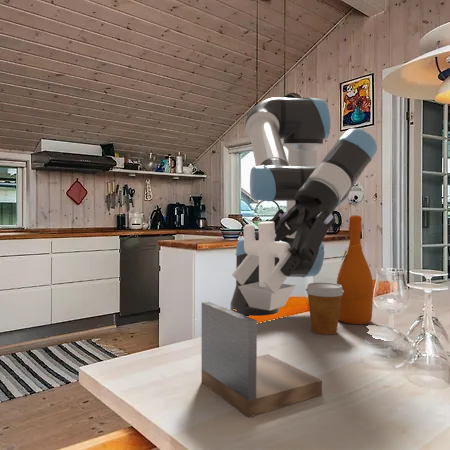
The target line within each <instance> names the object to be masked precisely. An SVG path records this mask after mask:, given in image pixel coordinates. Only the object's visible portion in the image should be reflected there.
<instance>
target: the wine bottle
mask: <svg viewBox="0 0 450 450" xmlns="http://www.w3.org/2000/svg"><path fill="white" fill-rule="evenodd" d="M348 220H349V221H348V231H349V233H350V236H349V243H348V244H349V245H348V247H347V248H345V249H344V254H343V256H342V259H341V261H342V263H341V265H340V266H339V267H340V268H339V271H338V273H337V279H336V284H339V285H341V286H342V289H343V291H344V292H343V295H342V298H341V305H340V312H339V319H338V321H340V322H341V323H342V322H343V323H345V324H349V325H350V324H351V325H366V324H369V323H370V322H371V321H372V318H373V303H374V301H373V300H374V285H373V284H374V282H373V276H372V273H371V270H370V269H371V268H370V266H369V264H368V261H367V259H366V258H365V254H364V251H363V247H362V243H361V242H362V241H361V232H362V229H363V228H362V216H361V215H355V214H354V215H351V216H349V218H348Z"/></svg>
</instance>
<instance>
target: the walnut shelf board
mask: <svg viewBox="0 0 450 450" xmlns="http://www.w3.org/2000/svg"><path fill="white" fill-rule="evenodd" d="M201 383H202V384H203V385H205V386H206V387H207V388H209V389H210V390H211V391H212V392H214V393H215V394H217V395H218V396H219V397H220V398H222V399H223V400H224V401H226V402H227V403H228V404H230V405H231V406H232V407H233V408H235V409H236V410H238V411H239V412H240V413H242V414H243V415H245V416H246V418H250V417H254V416H256V415H260V414H263V413H267V412H270V411H273V410H276V409H280V408H283V407H287V406H290V405H294V404H297V403H301V402H303V401H306V400H310V399H313V398H317V397H319V396H320V397H321V396H323V392H322V390H323V380H322V379H320V378H318V377H316V376H314V375H312V374H309V373H307V372H305V371H303V370H301V369H299V368H297V367H295V366H294V365H291V364H289V363H287V362H285V361H282V360H281V359H279V358H278V357H275V356H273V355H271V354H268V353H267V354H264V355H259V356H257V368H256V399H253V400H250V401H248V400H246V399H245V398H243V397H242V396H240V395H239V394H237V393H236V392H235V391H233V390H232V389H230V388H229V387H227V386H226V385H225V384H223V383H222V382H220V381H219V380H217V379H216V378H214V377H213V376H212V375H210V374H209V373H207V372H206V371H204V370H203V369H202V368H201Z"/></svg>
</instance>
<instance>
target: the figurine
mask: <svg viewBox="0 0 450 450" xmlns="http://www.w3.org/2000/svg"><path fill="white" fill-rule="evenodd" d="M257 227H258V228H257V231H258V232H259V240H255V235H256V234H255V226H254V225H253V224H251V223H249V224H246V225H244V226H243V238H244V250H245V252H246V254H248V255H253V256H259V282H256V283H251V284H247V285H242V286H238V287H239V289H240V291H241V293H242V294H243V296H244V298H245V300H246V301H247V303H248V305H249V307H253V308H258V309H263V310H269V311H270V310H274V309H277V308H279V309H280V308H283V307H285V306H286V303H287V302H288V300H289V298H290V296H291V294H292V292H294V289H295V287H296V284H295V285H294V284H288V283H283V284H282V285H281V287H280V288H279V289H278V291H277V292H276V294H274V293H272V292H271V291H270V290H269V289H268V288H267V286H266V285H265V284H264V283H263V282H264V281H265V279H266V278H267V277H268V275H269V274H270V273H271V271H272V270H273V269H274V267H275V257H278V258H279V261H280V259H281V258H282V257H283V255H284V254H285V253H289V254H290V256H291V253H290V252H289V251H288V249H289V248H291V247H290V245H289V244H288V243H287V242H280V241H275V237H276V234H275V224H274V221H270V220H269V221H267V220H266V221H260V222H258V223H257ZM258 232H257V233H258ZM289 250H290V249H289Z"/></svg>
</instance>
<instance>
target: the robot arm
mask: <svg viewBox="0 0 450 450" xmlns="http://www.w3.org/2000/svg"><path fill="white" fill-rule="evenodd" d="M244 129H245V134H246V136H247V138H248V139H249V140H250V141H251V147H252V153H253V157H254V162H255V166H253V167H251V169H250V174H249V191H250V192H249V193H250V196H251V199H252V200H255V201H265V202H273V201H274V202H280V201H281V202H282V201H283V202H284V201H285V202H286V210H285V211H284V210H283V209H282V208H280V209H278V210H277V211H276V213H275V214H274V216H273V217H272V218H271V219H270V220H269V221H274V224H275V234H276V237H275V241H280V242H287V243H288V244H289V245H290V247H291V248H289V249H290V250H289V249H288V251H289V252H290V253H291V256H290V254H289V253H285V254H284V255H283V257H282V258H281V259H280V261H279V258H278V257H275V267H274V269H273V270H272V271H271V273H270V274H269V275H268V277H267V278H266V279H265V281H264V282H263V283H264V284H265V285H266V286H267V288H268V289H269V290H270V291H271V292H272V293H274V294H276V292H277V291H278V289H279V288H280V287H281V285H282V284H285V283H284V282H285V281H286V280H287V279H288V278H289V277H290V278H310V277H316V276H317V275H319V274H320V272H321V270H322V268H323V265H324V260H325V244H324V242H323V240H324V239H325V236H326V235H327V233H328V230H329V228H331V226H332V225H334V223H335V222H336V218H335V217H334V215H333V212H334V211H335V210H336V208H337V207H339V206H340V205H341V204H342V203H344V200H346V199H347V198H348V196H349V195H350V192H351V190H352V188H353V187H354V186H355V184H356V182H357V181H358V180H359V179H360V177H361V175H362V173H363V172H364V171H365V169H366V167H367V166H368V165H369V164H370V163H371V161H373V158H374V156H375V154H376V153H377V150H378V149H377V148H378V144H377V142H376V140H375V138H374V137H373V136H372V135H371V134H370V133H368V132H366V131H365V130H363V129H360V128H350V129H348V130H346V131H345V132H344V133H343V134H342V135H341V136H339V138H338V139H337V141H336V142H335V144H334V145H333V147H332V148H331V149H330V150H329V152H328V153H327V154H326V155H325V157H324V158H323V159H322V161H321V162H320V163H318V151H319V149H320V148H321V147H322V146H323V144H324V140H326V139H328V138H329V136H330V134H331V133H330V132H331V131H330V130H331V113H330V110H329V106H328V104H327V102H326V101H325V100H324V99H321V98H315V97H270V98H267V99H265V100H264V99H263V100H262V101H259V102H258V103H257V104H256V105H254V106H253V107H252V108H251V109H250V111H249V112H248V114H247V116H246V117H245V121H244ZM281 139H283V142H282V140H281ZM284 147H285V148H286V149H287V151H288V152H287V153H288V155H287V154H286V151H285V149H284ZM255 240H259V232H257V233H256V234H255ZM235 251H236V252H235V256H236V259H235V260H236V261H235V263H236V265H235V266H236V267H235V270H234V271H233V272H232V274H231V275H232V277H233V278H234V279H235V288H234V292H233V295H232V298H231V301H230V302H229V303H230V304H229V305H230V309H229V310H232V311H234V312H237V313H239V314H242V315H245V316H248V317H250V316H251V317H253V316H254V317H257V316H259V317H263V316H270V315H275V314H277V313H278V312H279V311H280V308H277V309H274V310H270V311H269V310H263V309H258V308H253V307H249V305H248V303H247V301H246V300H245V298H244V296H243V294H242V293H241V291H240V289H239V287H238V286H242V285H247V284H251V283H256V282H259V256H253V255H248V254H246V252H245V250H244V237H243V238H241V239H239V240H237V243H236V250H235ZM233 309H236V310H237V311H235V310H233Z"/></svg>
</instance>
